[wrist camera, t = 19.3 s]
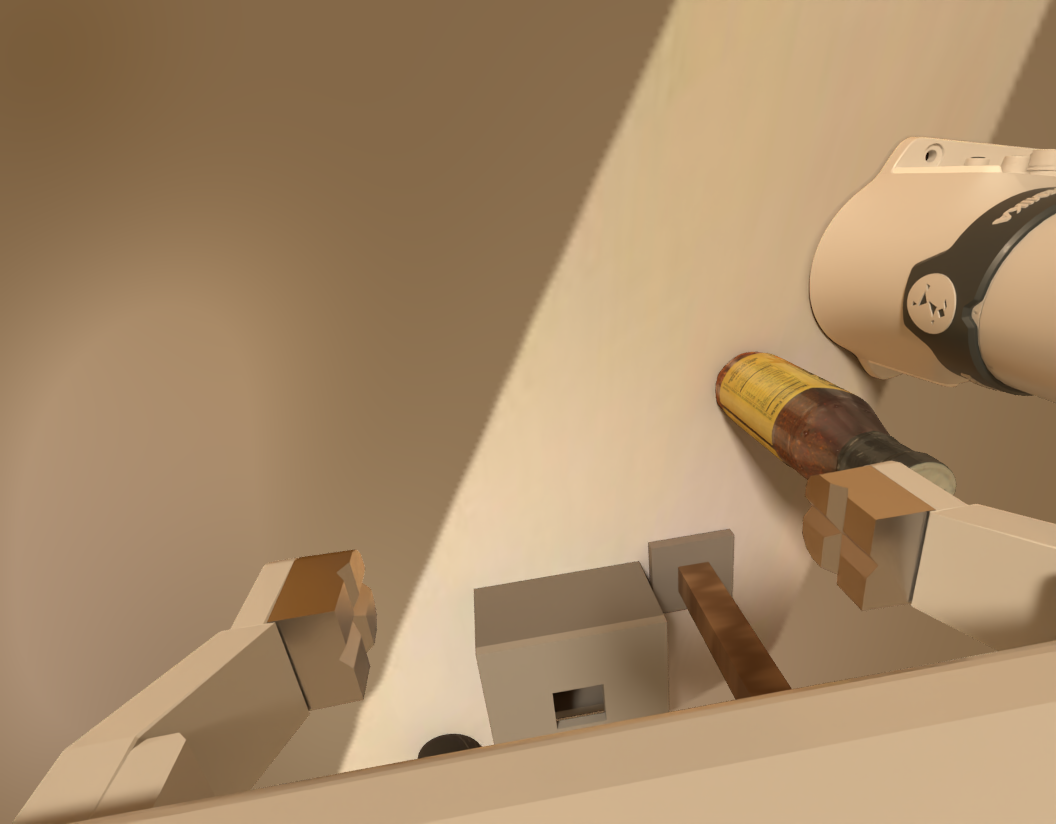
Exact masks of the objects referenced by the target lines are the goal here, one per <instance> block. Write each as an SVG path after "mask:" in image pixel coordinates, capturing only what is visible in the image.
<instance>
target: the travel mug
mask: <svg viewBox="0 0 1056 824" xmlns="http://www.w3.org/2000/svg"><path fill="white" fill-rule="evenodd" d="M479 747H480V745H479V744H478V743H477V742H476V741H475V740H474V739H472V738H470V737H467V736H464V735H459V734H448V735H442V736H439V737H436V738H434V739H432V740H430V741H429V742H427V743H426V744H425V745H424V746H423V747H422V749H421V750H420V752H419V755H418V759H420V758H425V757H430V756H436V755H441V754H447V753H452V752H457V751H463V750H468V749H474V748H479Z"/></svg>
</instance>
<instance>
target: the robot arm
mask: <svg viewBox="0 0 1056 824" xmlns="http://www.w3.org/2000/svg"><path fill="white" fill-rule="evenodd" d="M927 152H929V157H928V159H927V161H926V159H925V157H926V154H927ZM810 300H811V305H812V309H813V312H814V315H815V318H816V320H817V322H818V324H819V325H820V327H821V329H822V330H823V331H824V332H825V334H826V335H827V336H828V337H829V338H830V339H831V340H833V341H834V342H835V343H837V344H838V345H840V346H842V347H843V348H845V349H847V350H849V351H851V352H852V353H854V354H855V355H856V356H857V358H858V359H859V361H860V363H861V365H862V366H863V368H864V369H865V371H866V372H867V373H868V374H869V375H870V376H872V377H875V378H879V379H889V378H892V377H895V376H898V375H901V374H907V375H910V376H913V377H916V378H919V379H922V380H925V381H929V382H932V383H935V384H938V385H941V386H945V387H956V386H957V385H958V384H959V383H964V382H968V381H971V382H973V383H975V384H977V385H980V386H983V387H986V388H989V389H993V390H999V391H1003V392H1006V393H1010V394H1014V395H1022V396H1037V397H1040V398H1043V399H1045V400H1048V401H1051V402H1053V403H1056V149H1044V150H1043V149H1034V148H1024V147H1015V146H1005V145H996V144H986V143H976V142H967V141H957V140H948V139H938V138H928V137H909V138H907V139H905V140H904V141H902V142H901V143H900V144H899V145H898V146H897V148H896V149H895V150H894V152H893V153H892V154H891V156H890V157H889V159H888V160H887V162H886V163H885V165H884V166H883V168H882V170H881V171H880V173H879V174H878V175H877V176H876V177H875V179H873V180H872V181H871V182H870V183H869V184H868V185H867V186H865V187H864V188H863V189H862V190H860V191H859V192H858V193H857V194H856V195H854V196H853V197H852V198H851V199H850V200H849V201H848V202H847V203H846V204H845V205H844V206H843V207H842V208H841V210H840V211H839V212H838V213H837V214H836V216H835V217H834V218H833V220H832V221H831V223H830V224H829V226H828V227H827V229H826V231H825V233H824V234H823V236H822V238H821V240H820V243H819V245H818V247H817V250H816V253H815V256H814V259H813V263H812V268H811V274H810ZM805 497H806V498H807V500H808V501H809V502H810V503H811V505H812V506H811V508H810V509H809V510H808V511H807V513H806V514H805V515H804V517H803V529H802V534H803V537H804V541H805V545H806V548H807V550H808V552H809V553H810V555H811V557H812V558H813V560H814V561H815V562H816V563H817V564H818V565H819V566H820V567H821V568H823V569H825V570H828V571H830V572H832V573H835V574H837V585H838V586H839V588H840V589H842V591H843V592H844V593H845V594H846V595H847V596H848V597H849V598H850V599H851V600H852V601H853V602H854V603H855V604H856V605H857V606H858V607H859V608H860V610H861V611H865V610H871V609H878V608H885V607H892V606H899V605H905V604H912V605H911V606H912V607H914V608H916V609H918V610H920V611H922V612H924V613H926V614H927V615H929V616H931V617H933V618H935V619H937V620H939V621H941V622H943V623H945V624H947V625H949V626H951V627H953V628H955V629H956V630H958V631H960V632H962V633H964V634H966V635H968V636H970V637H972V638H974V639H976V640H978V641H979V642H982V643H983V644H985V645H987V646H989V647H991V648H993V649H995V650H997V652H992V653H987V654H981V655H976V656H970V657H965V658H960V659H954V660H949V661H944V662H938V663H933V664H927V665H921V666H916V667H910V668H906V669H900V670H894V671H889V672H884V673H878V674H872V675H867V676H862V677H856V678H851V679H845V680H840V681H834V682H829V683H823V684H818V685H813V686H807V687H802V688H797V689H791V690H785V691H780V692H774V693H769V694H763V695H758V696H753V697H747V698H742V699H737V700H731V701H726V702H721V703H715V704H710V705H705V706H700V707H694V708H688V709H684V710H678V711H672V712H667V713H662V714H656V715H651V716H646V717H640V718H635V719H630V720H624V721H619V722H613V723H608V724H603V725H597V726H592V727H587V728H581V729H576V730H571V731H565V732H560V733H555V734H549V735H544V736H538V737H533V738H528V739H522V740H517V741H511V742H506V743H501V744H495V745H490V746H484V747H479V748H474V749H468V750H463V751H457V752H452V753H447V754H441V755H436V756H430V757H425V758H420V759H414V760H409V761H403V762H398V763H393V764H387V765H382V766H376V767H371V768H366V769H360V770H355V771H349V772H344V773H339V774H333V775H328V776H322V777H317V778H312V779H306V780H301V781H296V782H290V783H285V784H279V785H274V786H269V787H263V788H258V789H252V790H251V788H252V787H253V786H254V784H255V783H256V782H257V780H259V778H260V777H261V776H262V774H263V773H264V772H265V771H266V769H267V768H268V767H269V765H270V764H271V763H272V762H273V760H274V759H275V758H276V757H277V755H278V754H279V753H280V751H281V750H282V749H283V748H284V746H285V745H286V744H287V742H288V741H289V740H290V739H291V737H292V736H293V735H294V734H295V732H296V731H297V730H298V729H299V727H300V726H301V725H302V723H303V722H304V721H305V719H306V718H307V717H308V716H309V714H310V713H309V711H312V710H316V709H321V708H326V707H331V706H336V705H340V704H346V703H350V702H355V701H360V700H363V699H364V694H365V689H366V684H367V679H368V674H369V669H370V664H369V660H368V657H367V654H366V653H367V652H368V651H369V650H370V649H371V647H372V646H373V645H374V643H375V637H376V631H377V628H376V627H377V626H376V625H377V619H376V616H377V614H376V608H375V601H374V597H373V594H372V590H371V589H370V588H369V587H367V586H366V585H365V584H363V583H362V581H363V577H364V573H365V566H364V563H363V560H362V556H361V554H360V552H359V551H357V550H356V549H354V550H347V551H340V552H333V553H326V554H319V555H312V556H305V557H299V558H291V559H285V560H279V561H273V562H269V563H267V564H266V565H264V567H263V568H262V570H261V572H260V574H259V576H258V578H257V579H256V582H255V583H254V585H253V587H252V589H251V591H250V593H249V595H248V596H247V599H246V600H245V602H244V604H243V606H242V608H241V610H240V612H239V613H238V616H237V618H236V619H235V621H234V623H233V625H232V627H231V629H230V630H225V631H220V632H219V633H218V634H216V635H215V636H214V637H212V638H211V639H210V640H208V641H207V642H206V643H204V644H203V645H202V646H201V647H199V648H198V649H197V650H195V651H194V652H193V653H191V654H190V655H189V656H187V657H186V658H185V659H184V660H182V661H181V662H179V663H178V664H177V665H176V666H174V667H173V668H172V669H170V670H169V671H168V672H167V673H165V674H164V675H162V676H161V677H160V678H158V679H157V680H156V681H154V682H153V683H152V684H150V685H149V686H148V687H147V688H145V689H144V690H142V691H141V692H140V693H139V694H137V695H136V696H135V697H133V698H132V699H131V700H129V701H128V702H127V703H125V704H124V705H123V706H121V707H120V708H119V709H117V710H116V711H115V712H114V713H112V714H111V715H110V716H108V717H107V718H106V719H104V720H103V721H102V722H100V723H99V724H98V725H97V726H95V727H94V728H92V729H91V730H90V731H88V732H87V733H86V734H85V735H83V736H82V737H81V738H79V739H78V740H77V741H75V742H74V743H73V744H71V745H70V746H69V747H67V748H66V749H65V750H63V752H62V754H61V755H60V756H59V757H58V759H57V760H56V762H55V763H54V764H53V766H52V767H51V769H50V770H49V772H48V773H47V775H46V776H45V777H44V779H43V780H42V781H41V783H40V784H39V786H38V787H37V789H36V790H35V791H34V793H33V794H32V796H31V797H30V798H29V800H28V801H27V803H26V804H25V805H24V807H23V808H22V810H21V811H20V812H19V814H18V815H17V817H16V818H15V819H14V821H13V822H12V824H1056V524H1054V523H1050V522H1046V521H1042V520H1038V519H1034V518H1030V517H1026V516H1022V515H1019V514H1015V513H1011V512H1007V511H1003V510H1000V509H996V508H991V507H988V506H984V505H980V504H972V505H967V504H966V503H964V502H963V501H961V500H959V499H958V498H956V497H954V496H953V495H951V494H950V493H948V492H947V491H945V490H943V489H942V488H940V487H939V486H937V485H935V484H934V483H932V482H931V481H929V480H927V479H926V478H924V477H923V476H921V475H919V474H918V473H916V472H915V471H913V470H911V469H910V468H908V467H907V466H905V465H903V464H902V463H900V462H895V461H886V462H881V463H876V464H871V465H866V466H863V467H858V468H852V469H847V470H841V471H836V472H830V473H825V474H819V475H814V476H810V478H809V480H808V482H807V484H806V492H805Z"/></svg>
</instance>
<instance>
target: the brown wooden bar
mask: <svg viewBox="0 0 1056 824" xmlns="http://www.w3.org/2000/svg"><path fill="white" fill-rule="evenodd" d="M678 592H679V594H680V596H681V597H682V599H683V601H684V603H685V605H686V607H687V609H688V611H689V613H690V614H691V616H692V618H693V620H694V622H695V624H696V626H697V628H698V630H699V631H700V633H701V635H702V637H703V639H704V641H705V643H706V645H707V646H708V648H709V650H710V652H711V654H712V656H713V658H714V660H715V662H716V663H717V665H718V667H719V669H720V671H721V673H722V675H723V677H724V678H725V680H726V682H727V684H728V686H729V688H730V690H731V692H732V694H733V695H734V697H735V699H736V700H737V699H742V698H747V697H753V696H758V695H763V694H769V693H774V692H780V691H785V690H791V687H790V686H789V684H788V683H787V681H786V680H785V678H784V676H783V675H782V674H781V672H780V671H779V669H778V667H777V666H776V664H775V663H774V661H773V660H772V658H771V657H770V655H769V654H768V652H767V650H766V649H765V647H764V646H763V644H762V643H761V641H760V640H759V638H758V637H757V635H756V634H755V632H754V631H753V629H752V627H751V626H750V624H749V623H748V621H747V620H746V618H745V617H744V615H743V614H742V612H741V611H740V609H739V608H738V606H737V605H736V603H735V601H734V600H733V598H732V597H731V595H730V594H729V592H728V591H727V589H726V588H725V586H724V585H723V583H722V582H721V580H720V578H719V577H718V575H717V574H716V572H715V571H714V569H713V568H712V566H711V565H710V563H709V562H704V563H698V564H692V565H686V566H680V567H678Z"/></svg>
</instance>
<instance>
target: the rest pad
mask: <svg viewBox="0 0 1056 824" xmlns="http://www.w3.org/2000/svg"><path fill="white" fill-rule="evenodd" d="M648 550H649V575H650V586H651V588H652V591H653V593H654V595H655V597H656V599H657V601H658V603H659V606H660V608H661V610H662V612H663V613H668V612H674V611H679V610H685V609H687V607H686V605H685V603H684V601H683V599H682V597H681V596H680V594H679V592H678V567H680V566H686V565H692V564H698V563H704V562H709V563H710V565H711V566H712V568H713V569H714V571H715V572H716V574H717V575H718V577H719V578H720V580H721V582H722V583H723V585H724V586H725V588H726V589H727V591H728V592H729V594H730V595H731V597H732V589H733V560H734V534H733V533H732V531H731V530H730V529H726V530H720V531H714V532H708V533H702V534H696V535H690V536H684V537H678V538H672V539H667V540H661V541H655V542H649V543H648Z"/></svg>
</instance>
